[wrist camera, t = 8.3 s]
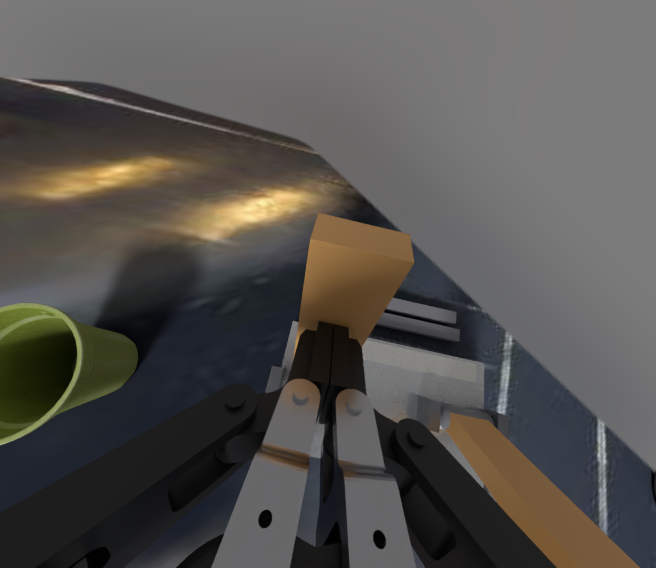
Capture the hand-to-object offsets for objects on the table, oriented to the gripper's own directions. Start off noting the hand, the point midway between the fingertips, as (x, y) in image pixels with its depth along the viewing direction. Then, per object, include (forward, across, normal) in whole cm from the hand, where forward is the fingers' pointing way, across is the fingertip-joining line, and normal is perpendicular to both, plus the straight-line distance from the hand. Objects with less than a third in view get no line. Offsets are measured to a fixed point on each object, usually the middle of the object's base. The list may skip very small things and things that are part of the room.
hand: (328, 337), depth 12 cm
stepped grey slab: (+15, -7, +7) cm, 18 cm away
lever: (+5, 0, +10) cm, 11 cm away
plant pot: (+7, +21, +15) cm, 27 cm away
